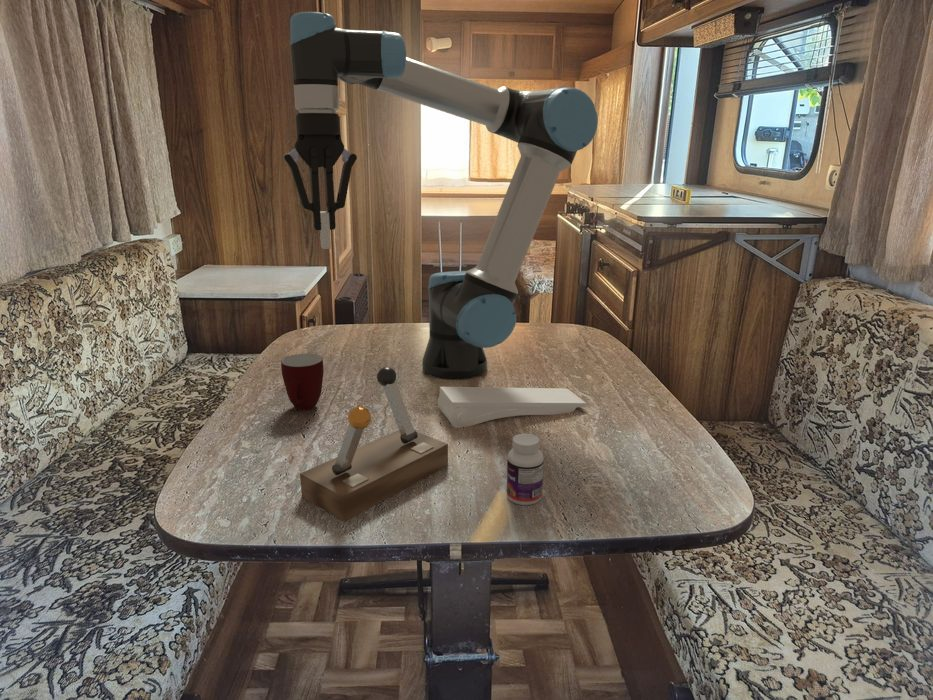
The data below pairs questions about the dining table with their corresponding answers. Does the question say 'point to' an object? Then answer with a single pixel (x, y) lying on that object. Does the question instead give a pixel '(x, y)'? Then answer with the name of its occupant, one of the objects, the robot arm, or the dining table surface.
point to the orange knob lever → (351, 439)
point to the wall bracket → (503, 403)
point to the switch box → (373, 474)
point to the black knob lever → (396, 404)
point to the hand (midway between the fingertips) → (325, 247)
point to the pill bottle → (525, 470)
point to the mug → (303, 379)
